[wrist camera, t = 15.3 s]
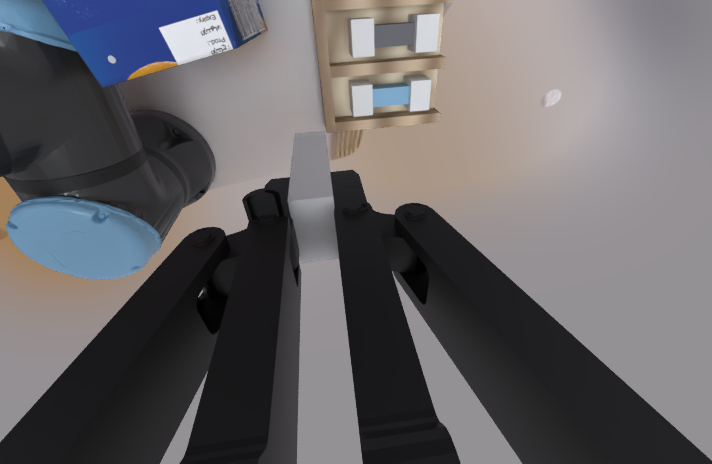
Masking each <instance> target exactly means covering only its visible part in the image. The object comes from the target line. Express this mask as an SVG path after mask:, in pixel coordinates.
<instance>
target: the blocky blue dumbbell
mask: <svg viewBox="0 0 712 464" xmlns="http://www.w3.org/2000/svg"><path fill="white" fill-rule="evenodd" d="M430 92H431V79H430V78H428V77H426V76H425V75H423V74H415V75H404V77H403V83H396V84H384V85H373V86H372V84H371V82H370V81H369V80H368V79H356V80H349V96H350V109H351V112H352V114H353V117H358V116H369V115H373V107H382V106H393V105H404V106H405V107H406V108H407V109H408V110H409V111H410V112H412V111H423V110H429V103H430Z"/></svg>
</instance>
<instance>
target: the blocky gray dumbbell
mask: <svg viewBox="0 0 712 464" xmlns="http://www.w3.org/2000/svg"><path fill="white" fill-rule="evenodd" d="M439 19H440V13H420V14H408V22H402V23H388V24H374V18H370V17H364V18H350V19H347V22H348V39H349V54H350V55H351V56H352V57H353V58H358V57H370V56H375V52H374V48H380V47H393V46H406V45H407V49H408V50H410V51H413V52H415V53H420V52H432V51H437V41H438V30H439Z"/></svg>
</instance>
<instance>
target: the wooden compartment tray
mask: <svg viewBox="0 0 712 464" xmlns="http://www.w3.org/2000/svg"><path fill="white" fill-rule="evenodd" d="M311 1H312V9H313V18H314V27H315V36H316V45H317V54H318V62H319V71H320V80H321V89H322V98H323V107H324V115H325V124H326V132H327V133H332V132H342V131H353V130H363V129H372V128H373V129H374V128H384V127H394V126H405V125H414V124H425V123H436V122H439V118H440V112H439V111H437V110H436V109H435V108H434V104H435V93H436V83H437V72H438V69H444V68H445V63H446V57H445V56H442V55H439V51H440V41H441V30H442V20H443V9H444V3H450V2H452V0H311ZM420 13H440V19H439V30H438V41H437V51H432V52H420V53H415V52H413V51H410V50H408V49H407V45H406V46H393V47H380V48H374V52H375V56H370V57H358V58H353V57H352V56H351V55H350V54H349V39H348V22H347V19H350V18H364V17H370V18H374V24H388V23H402V22H408V14H420ZM415 74H423V75H425V76H426V77H428V78H430V79H431V92H430V103H429V110H423V111H412V112H410V111H409V110H408V109H407V108H406V107H405V106H404V105H393V106H382V107H373V115H369V116H358V117H353V114H352V112H351V109H350V96H349V80H356V79H368V80H369V81H370V82H371V84H372V86H373V85H384V84H396V83H403V77H404V75H415Z"/></svg>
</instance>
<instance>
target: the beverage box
mask: <svg viewBox="0 0 712 464" xmlns="http://www.w3.org/2000/svg"><path fill="white" fill-rule="evenodd" d="M42 1H43V3H44V4H45V6H46V7H47V9H48V10H49V11H50V13H51V14H52V16H53V17H54V19H55V20H56V22H57V23H58V24H59V26H60V27H61V29H62V30H63V32H64V33H65V35H66V36H67V37H68V39H69V40H70V42H71V43H72V45H73V46H74V48H75V49H76V50H77V52H78V53H79V55H80V56H81V58H82V59H83V61H84V62H85V63H86V65H87V66H88V68H89V69H90V71H91V72H92V73H93V75H94V76H95V78H96V79H97V81H98V82H99V84H100V85H101V86H102V88H103V87H106V86H110V85H113V84H116V83H120V82H123V81H127V80H130V79H133V78H137V77H140V76H144V75H147V74H150V73H154V72H157V71H161V70H164V69H167V68H171V67H174V66H178V65H181V64H184V63H188V62H191V61H195V60H198V59H201V58H205V57H208V56H212V55H215V54H218V53H222V52H225V51H229V50H232V49H235V48H238V47H239V46H241V45H243V44H244V43H246V42H248V41H250V40H251V39H253V38H255V37H256V36H258V35H260V34H261V33H263V32H265V31H267V30H268V29H267V26H266V23H265V20H264V17H263V15H262V12H261V9H260V6H259V3H258V0H42Z"/></svg>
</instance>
